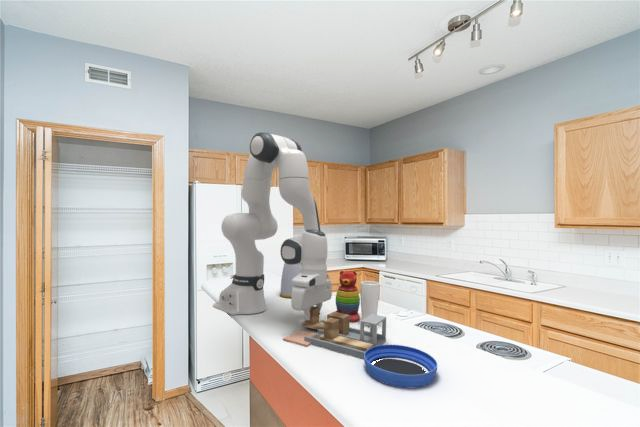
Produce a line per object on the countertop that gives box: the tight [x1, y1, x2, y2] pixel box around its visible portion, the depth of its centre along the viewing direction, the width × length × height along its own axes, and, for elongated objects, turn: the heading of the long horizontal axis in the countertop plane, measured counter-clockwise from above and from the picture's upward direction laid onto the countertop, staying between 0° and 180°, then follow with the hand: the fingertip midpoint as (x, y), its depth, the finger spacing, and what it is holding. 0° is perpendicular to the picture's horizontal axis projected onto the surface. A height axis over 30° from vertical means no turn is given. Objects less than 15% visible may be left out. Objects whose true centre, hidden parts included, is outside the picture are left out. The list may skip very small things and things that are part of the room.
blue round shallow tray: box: [363, 344, 438, 388], centre depth 84 cm, size 18×18×4 cm
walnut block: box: [326, 311, 351, 332], centre depth 108 cm, size 6×4×4 cm
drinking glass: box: [359, 280, 380, 327], centre depth 120 cm, size 7×7×15 cm
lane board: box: [304, 314, 387, 360], centre depth 102 cm, size 20×16×8 cm
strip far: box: [301, 305, 349, 335], centre depth 110 cm, size 16×4×6 cm, turn 58°
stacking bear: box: [334, 270, 361, 323], centre depth 127 cm, size 11×10×18 cm
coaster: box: [282, 330, 320, 348], centre depth 103 cm, size 9×9×1 cm
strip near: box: [319, 318, 374, 352], centre depth 98 cm, size 16×4×6 cm, turn 58°
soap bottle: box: [279, 262, 301, 299], centre depth 159 cm, size 11×12×26 cm
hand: (312, 317), depth 113 cm, fingers closed on strip far, 4 cm apart
